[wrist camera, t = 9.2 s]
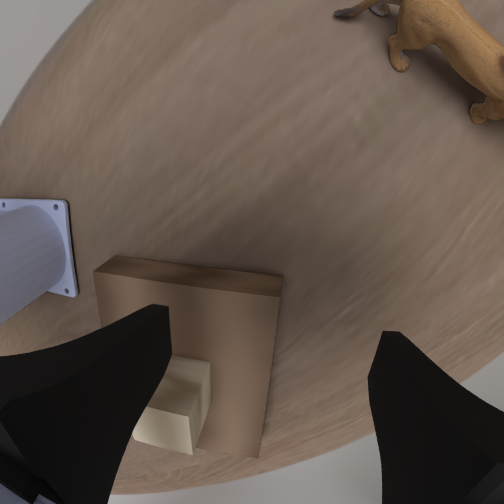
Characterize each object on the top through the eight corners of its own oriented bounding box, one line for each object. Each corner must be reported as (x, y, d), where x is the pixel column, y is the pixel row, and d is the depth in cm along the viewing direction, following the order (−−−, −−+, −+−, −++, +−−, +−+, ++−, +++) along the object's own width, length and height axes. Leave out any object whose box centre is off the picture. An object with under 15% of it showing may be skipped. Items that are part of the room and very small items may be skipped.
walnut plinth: (139, 408, 27) (128, 429, 25) (115, 255, 22) (93, 271, 19) (262, 433, 26) (258, 458, 23) (282, 275, 21) (279, 297, 18)
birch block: (159, 392, 22) (134, 439, 17) (153, 351, 21) (122, 399, 16) (210, 403, 22) (192, 455, 17) (210, 362, 20) (188, 416, 16)
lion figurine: (528, 90, 14) (613, 84, 5) (513, 153, 16) (604, 172, 7) (342, -13, 14) (365, -96, 6) (320, 54, 16) (336, -12, 7)
